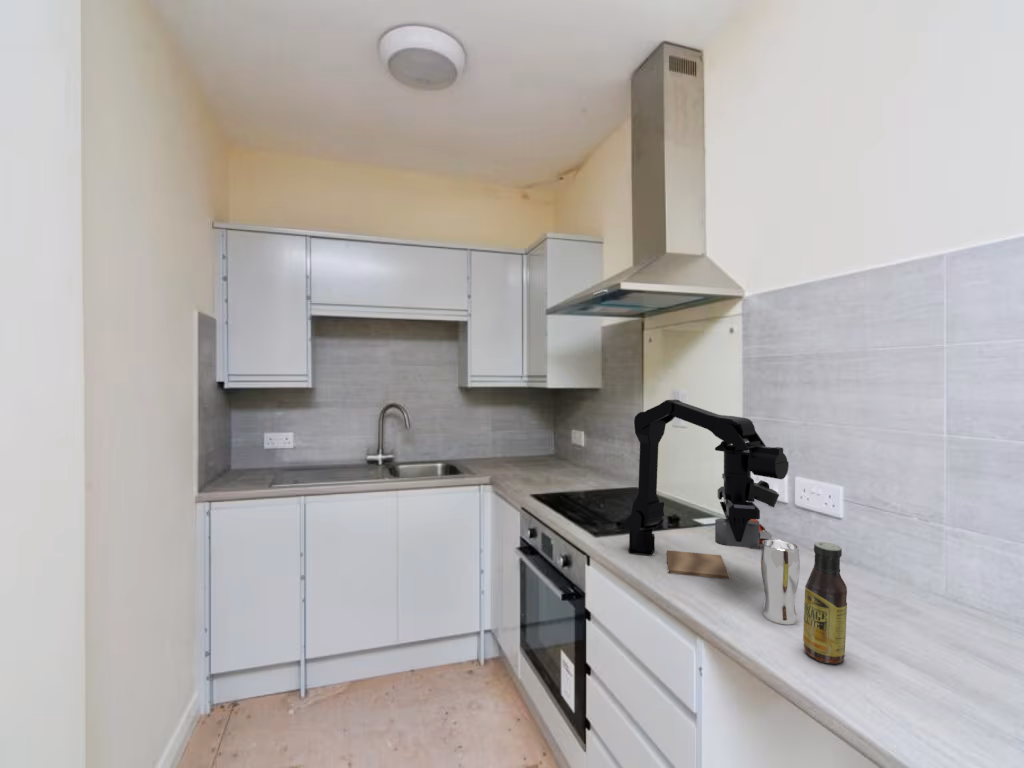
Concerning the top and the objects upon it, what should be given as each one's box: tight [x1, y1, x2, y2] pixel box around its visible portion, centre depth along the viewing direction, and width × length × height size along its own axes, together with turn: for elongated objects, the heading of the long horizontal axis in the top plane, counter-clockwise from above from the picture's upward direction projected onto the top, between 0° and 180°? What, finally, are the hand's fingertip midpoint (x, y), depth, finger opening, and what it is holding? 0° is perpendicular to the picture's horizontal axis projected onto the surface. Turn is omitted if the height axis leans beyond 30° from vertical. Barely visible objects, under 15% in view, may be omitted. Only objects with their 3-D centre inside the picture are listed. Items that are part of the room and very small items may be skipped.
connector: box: [714, 518, 773, 549], centre depth 111 cm, size 12×4×5 cm, turn 74°
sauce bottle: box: [802, 541, 848, 665], centre depth 84 cm, size 6×6×20 cm
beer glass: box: [760, 538, 801, 626], centre depth 98 cm, size 7×7×15 cm
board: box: [666, 549, 730, 580], centre depth 125 cm, size 14×14×1 cm
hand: (736, 538), depth 112 cm, fingers closed on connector, 4 cm apart
